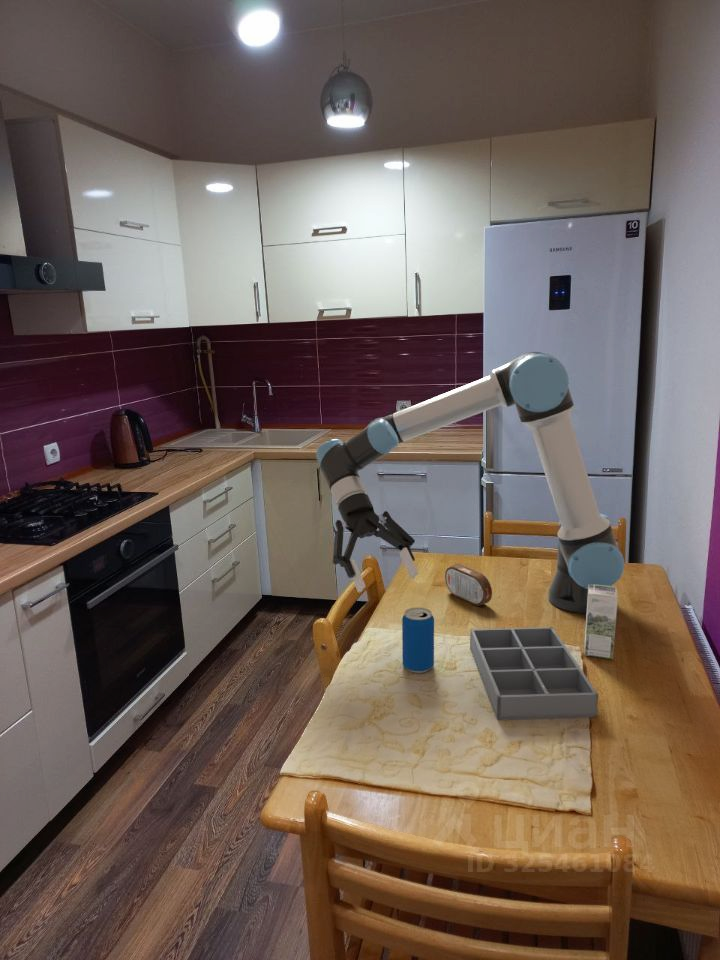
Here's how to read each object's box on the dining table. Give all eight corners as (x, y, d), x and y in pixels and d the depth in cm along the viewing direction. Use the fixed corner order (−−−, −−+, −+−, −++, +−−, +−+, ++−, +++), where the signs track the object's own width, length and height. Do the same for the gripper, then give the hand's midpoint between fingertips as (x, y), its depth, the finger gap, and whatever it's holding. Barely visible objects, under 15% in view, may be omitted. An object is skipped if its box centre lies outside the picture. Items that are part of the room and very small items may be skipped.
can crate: (551, 645, 140) (552, 627, 139) (596, 716, 115) (598, 694, 114) (470, 648, 140) (470, 629, 139) (497, 719, 114) (497, 697, 113)
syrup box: (612, 647, 139) (616, 584, 136) (613, 660, 134) (618, 595, 130) (584, 643, 141) (588, 582, 138) (584, 656, 136) (588, 592, 132)
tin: (492, 608, 160) (493, 576, 158) (483, 611, 158) (484, 579, 156) (451, 589, 172) (452, 559, 170) (442, 591, 171) (443, 561, 169)
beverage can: (432, 676, 129) (432, 621, 127) (400, 673, 131) (400, 619, 128) (435, 660, 135) (435, 607, 133) (404, 657, 137) (404, 605, 134)
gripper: (391, 500, 157) (428, 578, 147) (298, 517, 144) (332, 603, 135) (403, 484, 151) (442, 563, 142) (308, 500, 139) (344, 587, 129)
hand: (389, 582), depth 138 cm, fingers open, 13 cm apart
